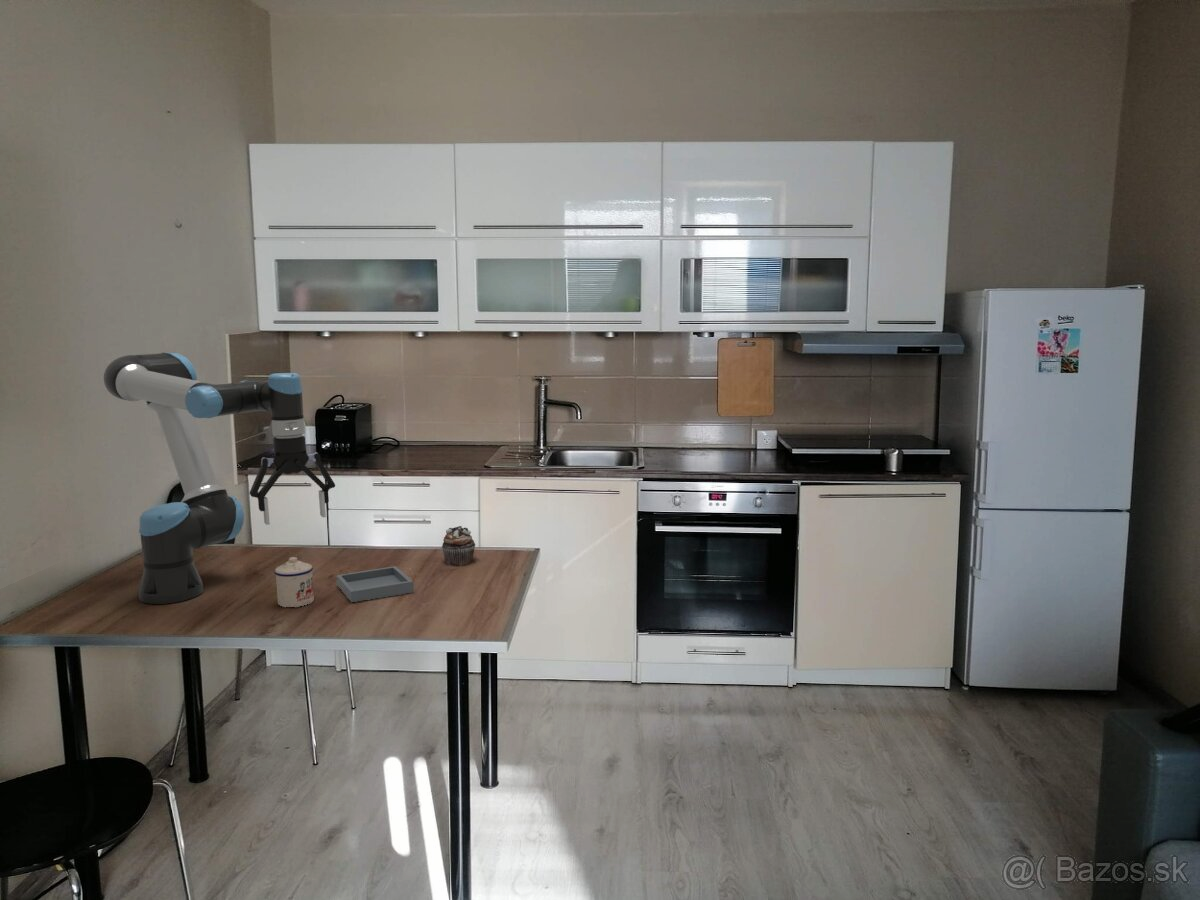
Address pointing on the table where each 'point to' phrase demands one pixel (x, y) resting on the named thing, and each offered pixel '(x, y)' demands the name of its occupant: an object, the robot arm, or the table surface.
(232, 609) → the table surface
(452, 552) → the cupcake
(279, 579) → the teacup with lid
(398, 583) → the square tray
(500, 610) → the table surface
